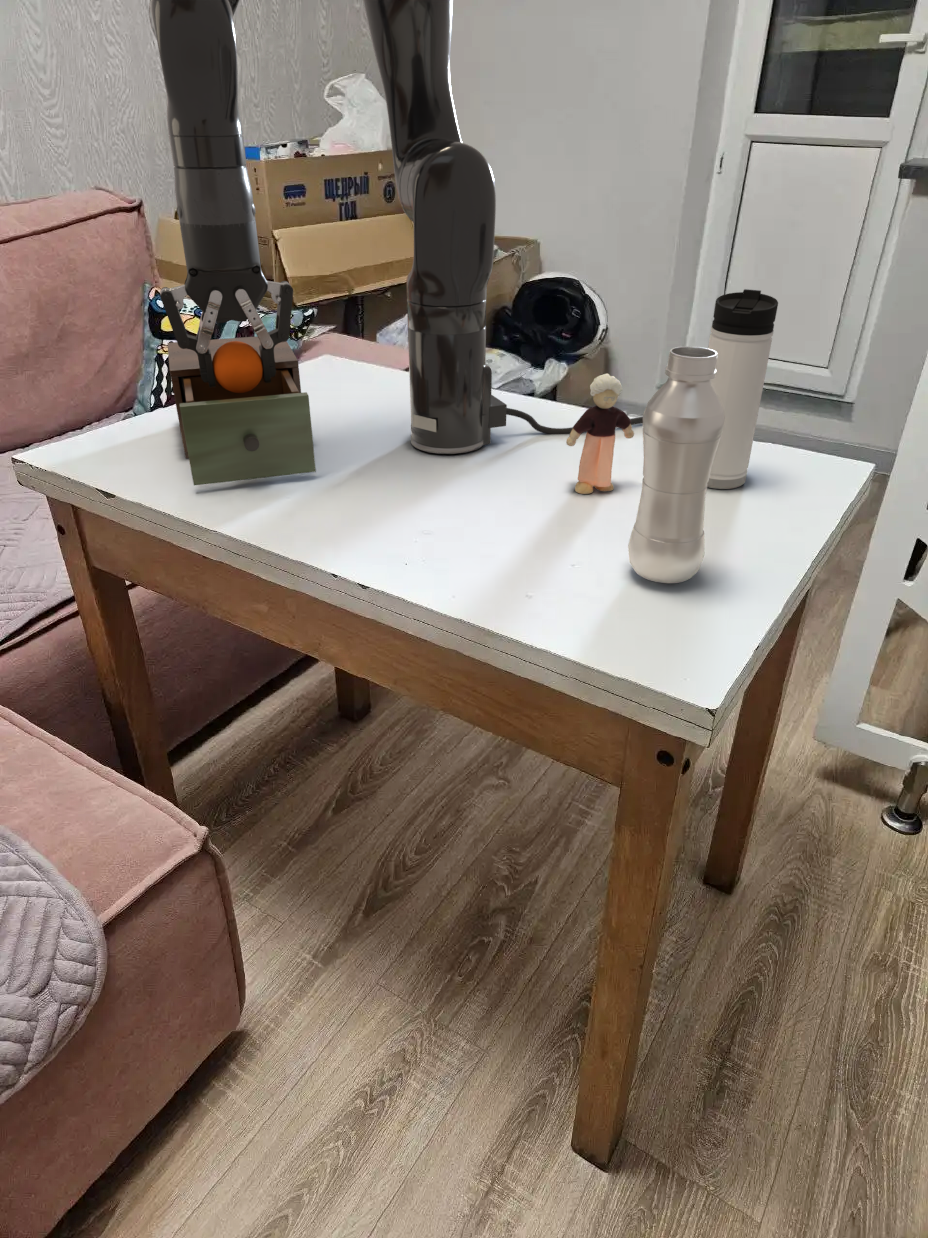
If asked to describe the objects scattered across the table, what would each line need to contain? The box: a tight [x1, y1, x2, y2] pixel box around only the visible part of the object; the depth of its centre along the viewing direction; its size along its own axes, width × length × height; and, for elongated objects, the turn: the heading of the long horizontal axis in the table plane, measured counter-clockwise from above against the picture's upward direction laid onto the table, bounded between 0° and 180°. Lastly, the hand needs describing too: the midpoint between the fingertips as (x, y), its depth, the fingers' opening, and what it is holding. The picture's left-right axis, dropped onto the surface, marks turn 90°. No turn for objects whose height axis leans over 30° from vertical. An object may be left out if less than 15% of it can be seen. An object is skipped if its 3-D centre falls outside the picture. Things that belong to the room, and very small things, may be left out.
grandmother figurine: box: [565, 373, 635, 495], centre depth 91 cm, size 8×4×13 cm, turn 117°
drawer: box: [180, 368, 317, 486], centre depth 96 cm, size 14×13×9 cm
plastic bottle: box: [627, 346, 725, 584], centre depth 72 cm, size 6×7×20 cm
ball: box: [212, 341, 263, 393], centre depth 93 cm, size 6×6×6 cm
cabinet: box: [166, 335, 302, 460], centre depth 106 cm, size 14×15×11 cm
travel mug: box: [707, 288, 779, 490], centre depth 91 cm, size 6×7×20 cm
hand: (239, 382), depth 94 cm, fingers closed on ball, 5 cm apart
